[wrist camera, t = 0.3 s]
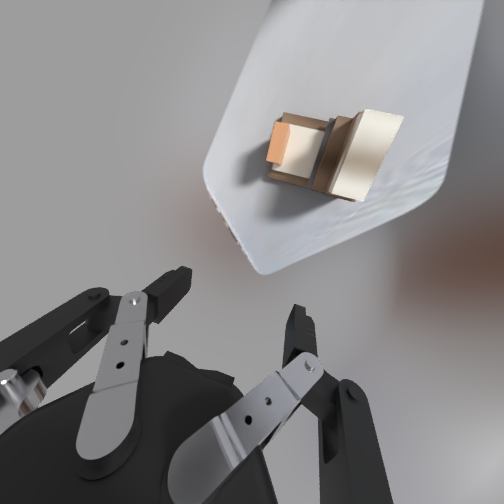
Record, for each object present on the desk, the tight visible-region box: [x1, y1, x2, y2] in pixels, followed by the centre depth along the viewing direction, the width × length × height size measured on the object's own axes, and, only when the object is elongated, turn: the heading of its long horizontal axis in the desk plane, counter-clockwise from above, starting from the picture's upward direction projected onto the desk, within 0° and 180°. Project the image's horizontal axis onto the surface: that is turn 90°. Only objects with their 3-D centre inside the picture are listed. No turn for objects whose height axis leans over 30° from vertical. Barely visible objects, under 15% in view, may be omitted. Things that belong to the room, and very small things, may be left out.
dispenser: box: [268, 109, 404, 202], centre depth 27 cm, size 10×14×11 cm
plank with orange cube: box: [266, 121, 325, 179], centre depth 28 cm, size 7×10×6 cm
